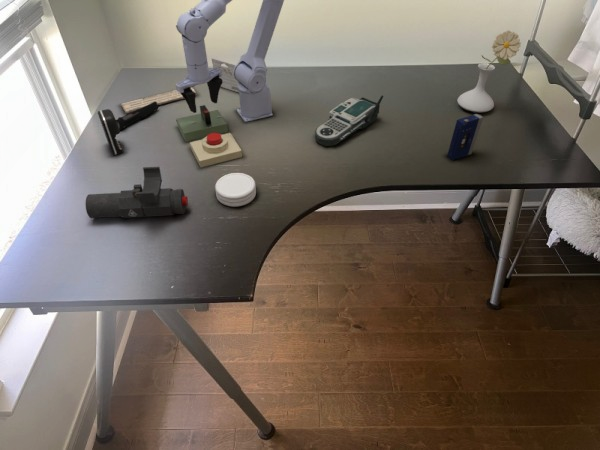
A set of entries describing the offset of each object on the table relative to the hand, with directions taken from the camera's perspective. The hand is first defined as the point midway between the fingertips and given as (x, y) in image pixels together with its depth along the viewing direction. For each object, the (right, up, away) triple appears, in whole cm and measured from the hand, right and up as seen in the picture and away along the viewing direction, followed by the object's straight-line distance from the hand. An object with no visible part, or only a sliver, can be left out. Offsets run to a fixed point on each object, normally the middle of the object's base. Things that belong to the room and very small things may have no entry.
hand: (204, 106), depth 130 cm
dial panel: (-1, -6, +5) cm, 8 cm away
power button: (+4, -12, -7) cm, 14 cm away
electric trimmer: (-23, -2, +9) cm, 25 cm away
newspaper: (-19, +6, +18) cm, 26 cm away
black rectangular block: (0, -3, +3) cm, 4 cm away
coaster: (+12, -27, -17) cm, 34 cm away
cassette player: (+73, -15, -4) cm, 75 cm away
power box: (+4, -14, -4) cm, 15 cm away
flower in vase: (+86, +4, +15) cm, 87 cm away
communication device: (+41, -6, +5) cm, 42 cm away
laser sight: (-10, -32, -23) cm, 40 cm away
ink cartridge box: (+4, +13, +24) cm, 28 cm away
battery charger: (-24, -13, -3) cm, 27 cm away
